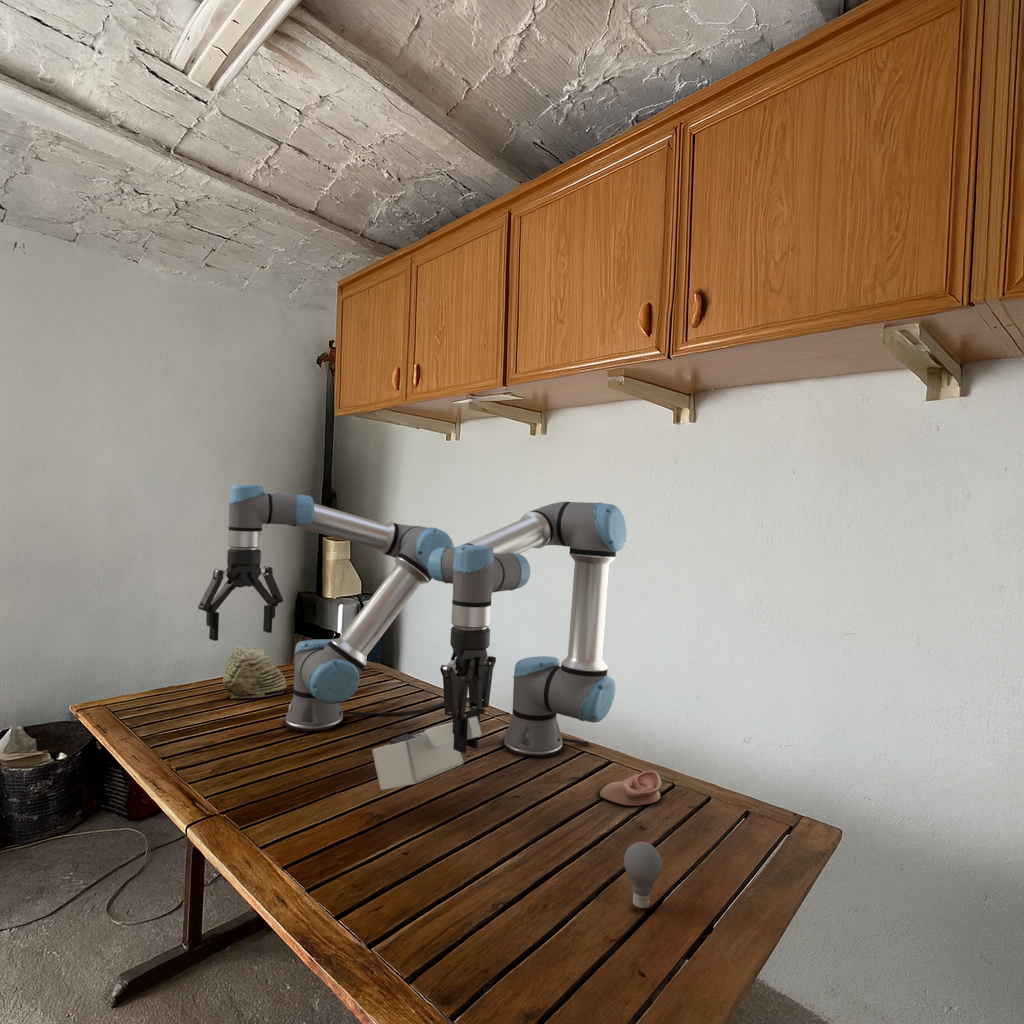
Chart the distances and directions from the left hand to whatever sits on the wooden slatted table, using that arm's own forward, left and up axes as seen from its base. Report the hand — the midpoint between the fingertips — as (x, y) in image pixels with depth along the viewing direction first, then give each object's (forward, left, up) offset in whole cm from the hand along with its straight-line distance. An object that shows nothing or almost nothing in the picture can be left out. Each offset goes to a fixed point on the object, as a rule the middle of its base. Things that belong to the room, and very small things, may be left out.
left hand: (241, 635), depth 153 cm
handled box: (-11, +59, -19) cm, 63 cm away
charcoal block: (-9, +50, -21) cm, 55 cm away
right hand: (-10, +65, -12) cm, 67 cm away
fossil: (-26, -38, -29) cm, 54 cm away
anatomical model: (-48, +81, -29) cm, 98 cm away
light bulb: (-14, +101, -29) cm, 106 cm away
